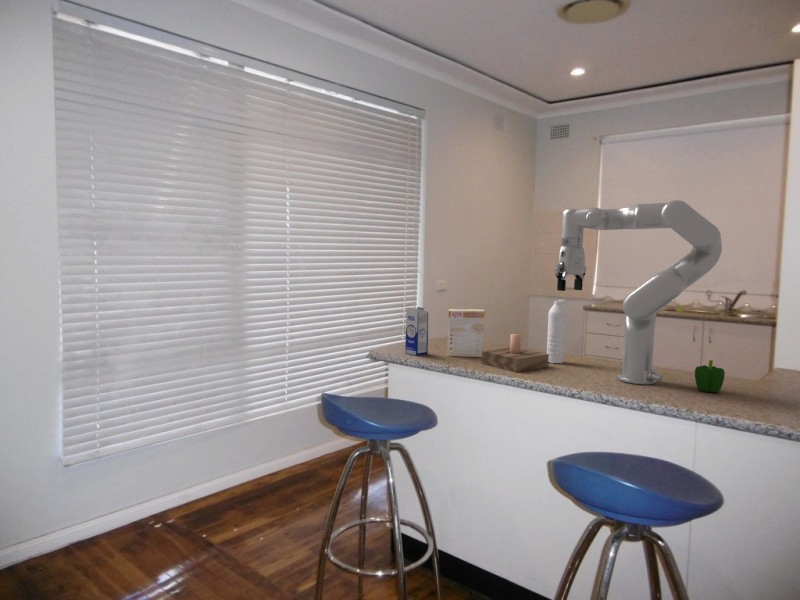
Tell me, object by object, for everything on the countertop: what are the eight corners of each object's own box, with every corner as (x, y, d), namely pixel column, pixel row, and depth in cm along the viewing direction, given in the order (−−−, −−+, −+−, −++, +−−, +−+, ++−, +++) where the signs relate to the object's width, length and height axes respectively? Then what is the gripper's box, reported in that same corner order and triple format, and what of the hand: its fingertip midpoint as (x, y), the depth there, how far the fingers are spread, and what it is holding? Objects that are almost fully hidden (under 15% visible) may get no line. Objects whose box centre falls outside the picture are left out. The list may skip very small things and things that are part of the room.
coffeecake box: (482, 354, 232) (484, 309, 230) (483, 357, 225) (484, 311, 223) (447, 353, 233) (448, 308, 232) (447, 356, 226) (448, 309, 224)
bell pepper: (716, 396, 170) (718, 364, 169) (689, 390, 177) (691, 360, 176) (728, 392, 175) (730, 361, 174) (701, 386, 182) (703, 357, 181)
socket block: (548, 367, 208) (548, 354, 208) (516, 372, 198) (516, 358, 198) (513, 358, 223) (513, 347, 223) (481, 363, 213) (481, 350, 212)
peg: (521, 365, 210) (523, 335, 209) (514, 366, 208) (516, 335, 207) (514, 363, 213) (515, 333, 212) (507, 364, 211) (508, 334, 210)
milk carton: (404, 353, 231) (405, 306, 229) (416, 351, 235) (417, 305, 233) (416, 356, 225) (417, 308, 224) (427, 354, 230) (429, 307, 228)
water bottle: (558, 364, 214) (561, 301, 211) (543, 362, 218) (546, 300, 216) (568, 361, 220) (571, 300, 218) (553, 359, 224) (556, 299, 222)
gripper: (565, 242, 188) (563, 291, 190) (595, 244, 198) (592, 290, 200) (548, 242, 194) (546, 290, 196) (578, 244, 204) (575, 289, 206)
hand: (569, 290), depth 198 cm, fingers open, 9 cm apart
